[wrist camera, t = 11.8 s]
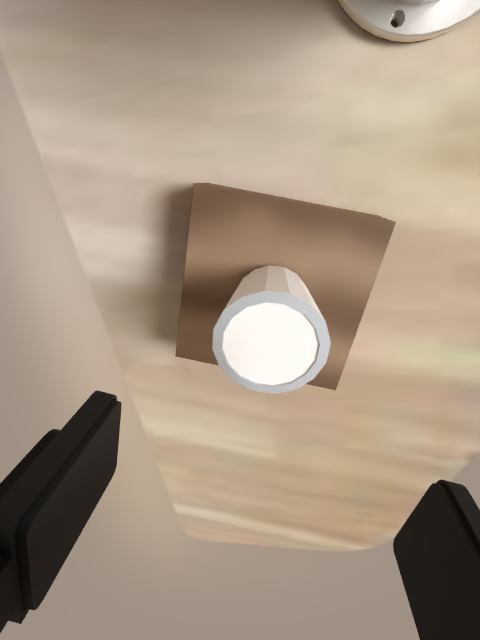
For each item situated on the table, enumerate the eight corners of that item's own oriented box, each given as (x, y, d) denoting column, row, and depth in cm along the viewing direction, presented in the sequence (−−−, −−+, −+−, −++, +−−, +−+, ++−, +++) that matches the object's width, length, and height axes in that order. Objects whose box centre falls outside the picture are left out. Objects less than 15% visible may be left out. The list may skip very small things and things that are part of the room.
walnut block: (208, 182, 27) (193, 183, 22) (375, 214, 27) (395, 222, 22) (190, 331, 33) (175, 356, 28) (327, 360, 32) (335, 390, 28)
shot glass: (233, 342, 27) (220, 396, 21) (221, 261, 24) (202, 296, 18) (318, 337, 26) (331, 393, 20) (316, 252, 23) (331, 286, 17)
